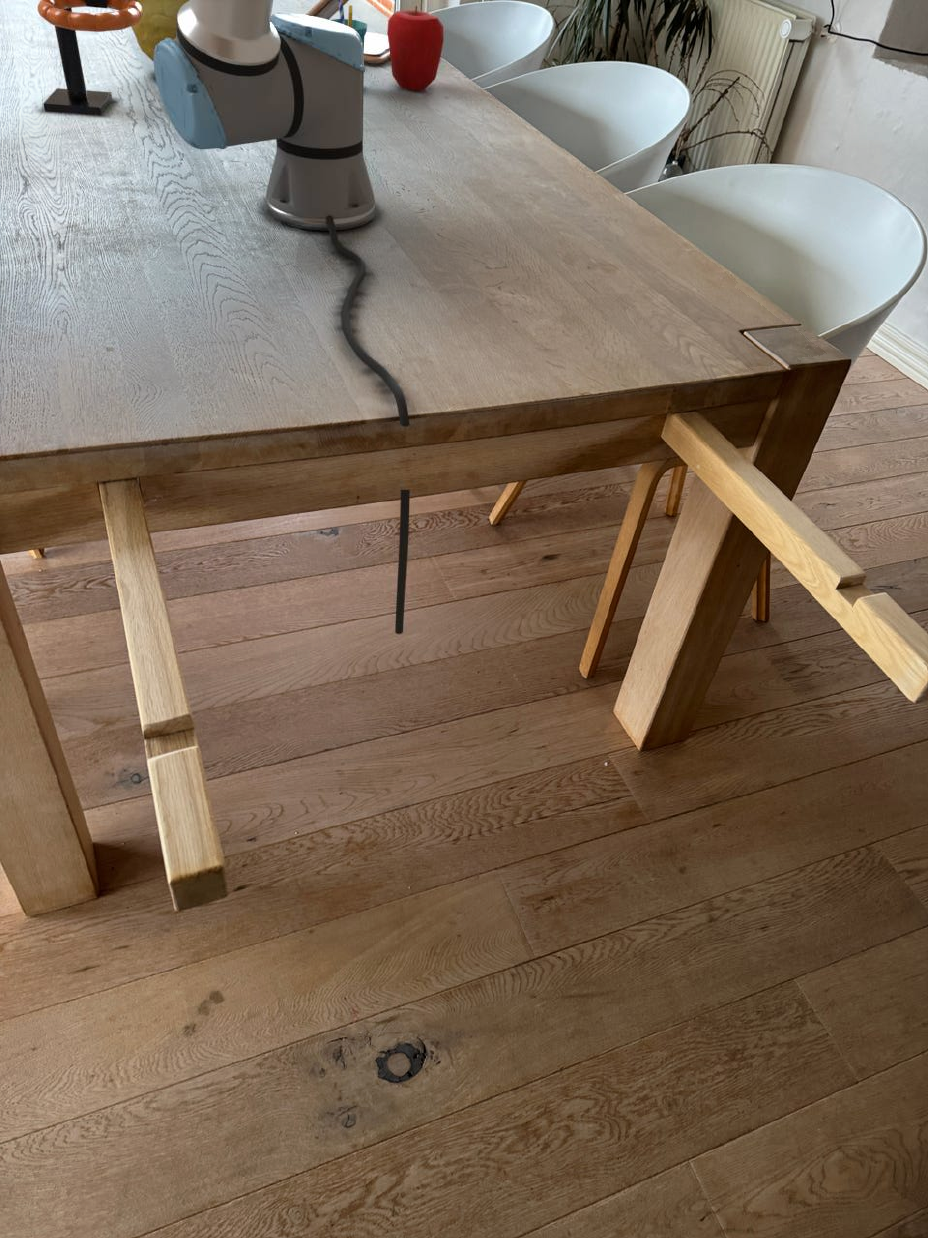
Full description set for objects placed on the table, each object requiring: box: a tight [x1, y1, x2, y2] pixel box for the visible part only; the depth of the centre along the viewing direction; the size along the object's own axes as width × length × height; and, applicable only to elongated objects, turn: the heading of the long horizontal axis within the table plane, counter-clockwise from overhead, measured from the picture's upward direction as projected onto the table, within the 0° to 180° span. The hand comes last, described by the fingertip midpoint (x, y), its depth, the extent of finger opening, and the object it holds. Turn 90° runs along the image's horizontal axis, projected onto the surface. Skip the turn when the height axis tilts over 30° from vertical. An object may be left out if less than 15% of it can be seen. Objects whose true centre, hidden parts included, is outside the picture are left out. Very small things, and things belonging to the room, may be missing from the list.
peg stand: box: [42, 8, 113, 116], centre depth 148 cm, size 9×9×15 cm
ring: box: [37, 0, 143, 33], centre depth 123 cm, size 13×13×2 cm
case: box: [305, 0, 390, 64], centre depth 190 cm, size 20×21×16 cm
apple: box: [386, 5, 445, 92], centre depth 174 cm, size 10×10×14 cm
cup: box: [329, 0, 368, 54], centre depth 169 cm, size 14×8×15 cm, turn 24°
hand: (99, 3), depth 127 cm, fingers closed on ring, 2 cm apart
